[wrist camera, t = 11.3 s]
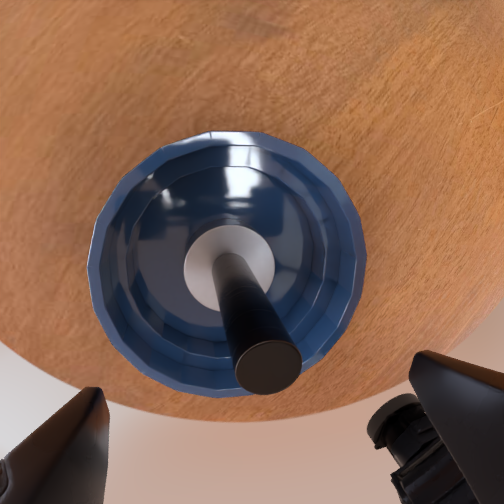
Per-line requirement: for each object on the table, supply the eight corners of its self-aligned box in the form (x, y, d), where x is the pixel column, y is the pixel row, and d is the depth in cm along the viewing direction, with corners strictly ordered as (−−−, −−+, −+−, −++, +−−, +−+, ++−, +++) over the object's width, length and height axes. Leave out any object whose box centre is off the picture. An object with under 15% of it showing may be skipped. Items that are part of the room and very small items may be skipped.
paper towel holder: (265, 296, 20) (335, 414, 10) (186, 300, 19) (190, 434, 9) (268, 217, 19) (360, 283, 9) (182, 219, 18) (174, 294, 8)
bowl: (321, 346, 23) (346, 380, 19) (124, 359, 20) (114, 400, 16) (338, 145, 19) (375, 142, 15) (104, 143, 16) (79, 137, 12)
